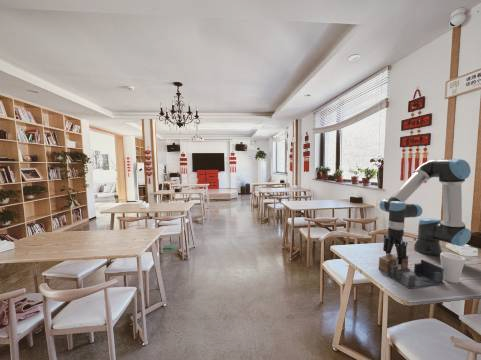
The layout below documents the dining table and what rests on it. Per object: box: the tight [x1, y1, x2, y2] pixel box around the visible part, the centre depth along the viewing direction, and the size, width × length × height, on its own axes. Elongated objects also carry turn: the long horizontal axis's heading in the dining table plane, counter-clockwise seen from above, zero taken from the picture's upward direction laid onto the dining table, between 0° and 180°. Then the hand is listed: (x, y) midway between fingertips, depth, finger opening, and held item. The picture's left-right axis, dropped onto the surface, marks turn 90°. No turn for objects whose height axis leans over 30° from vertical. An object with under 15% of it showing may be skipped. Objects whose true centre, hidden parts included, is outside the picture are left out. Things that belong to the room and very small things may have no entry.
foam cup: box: [439, 252, 466, 284], centre depth 118 cm, size 10×9×13 cm
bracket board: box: [386, 259, 446, 290], centre depth 118 cm, size 22×13×8 cm, turn 102°
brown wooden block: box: [378, 253, 409, 274], centre depth 131 cm, size 18×5×7 cm, turn 112°
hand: (393, 266), depth 131 cm, fingers closed on brown wooden block, 6 cm apart
